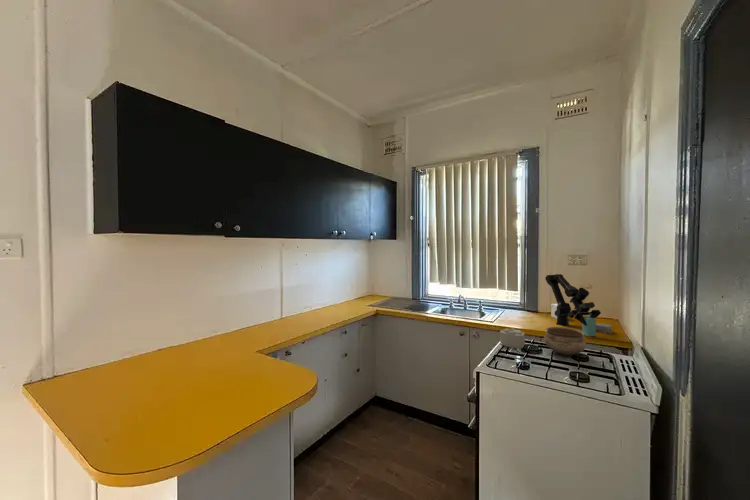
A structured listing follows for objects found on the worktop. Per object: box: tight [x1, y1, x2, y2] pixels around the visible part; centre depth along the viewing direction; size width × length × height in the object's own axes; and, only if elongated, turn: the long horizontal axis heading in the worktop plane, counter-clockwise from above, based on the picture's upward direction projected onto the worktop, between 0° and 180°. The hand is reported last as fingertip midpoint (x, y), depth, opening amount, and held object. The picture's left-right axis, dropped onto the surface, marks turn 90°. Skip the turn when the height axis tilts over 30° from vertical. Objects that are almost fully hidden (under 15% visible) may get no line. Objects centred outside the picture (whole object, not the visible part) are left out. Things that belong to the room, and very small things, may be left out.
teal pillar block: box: [581, 316, 597, 337], centre depth 198 cm, size 5×5×11 cm
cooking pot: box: [543, 326, 587, 357], centre depth 165 cm, size 25×19×12 cm
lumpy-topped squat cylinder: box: [499, 328, 526, 349], centre depth 180 cm, size 10×13×9 cm
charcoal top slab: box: [596, 322, 612, 331], centre depth 206 cm, size 8×8×2 cm
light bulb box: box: [550, 303, 558, 320], centre depth 244 cm, size 11×7×11 cm, turn 179°
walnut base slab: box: [596, 328, 614, 335], centre depth 206 cm, size 10×10×2 cm
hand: (590, 325), depth 196 cm, fingers closed on teal pillar block, 5 cm apart
